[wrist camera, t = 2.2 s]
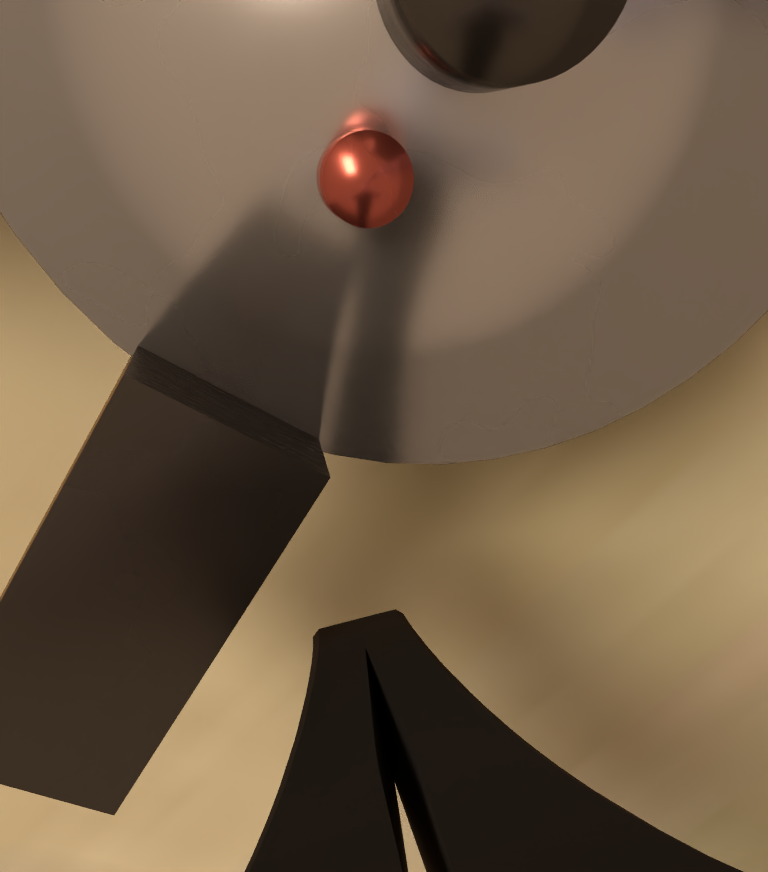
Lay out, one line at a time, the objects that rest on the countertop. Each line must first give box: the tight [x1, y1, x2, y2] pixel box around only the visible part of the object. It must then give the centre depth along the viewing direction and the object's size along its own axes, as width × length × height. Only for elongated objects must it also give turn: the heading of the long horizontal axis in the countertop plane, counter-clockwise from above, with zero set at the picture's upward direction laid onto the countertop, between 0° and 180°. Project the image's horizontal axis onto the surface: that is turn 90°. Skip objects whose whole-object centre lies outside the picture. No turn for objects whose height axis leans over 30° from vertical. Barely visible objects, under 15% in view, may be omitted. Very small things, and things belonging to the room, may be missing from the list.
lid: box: [0, 0, 768, 815], centre depth 8 cm, size 17×12×2 cm
